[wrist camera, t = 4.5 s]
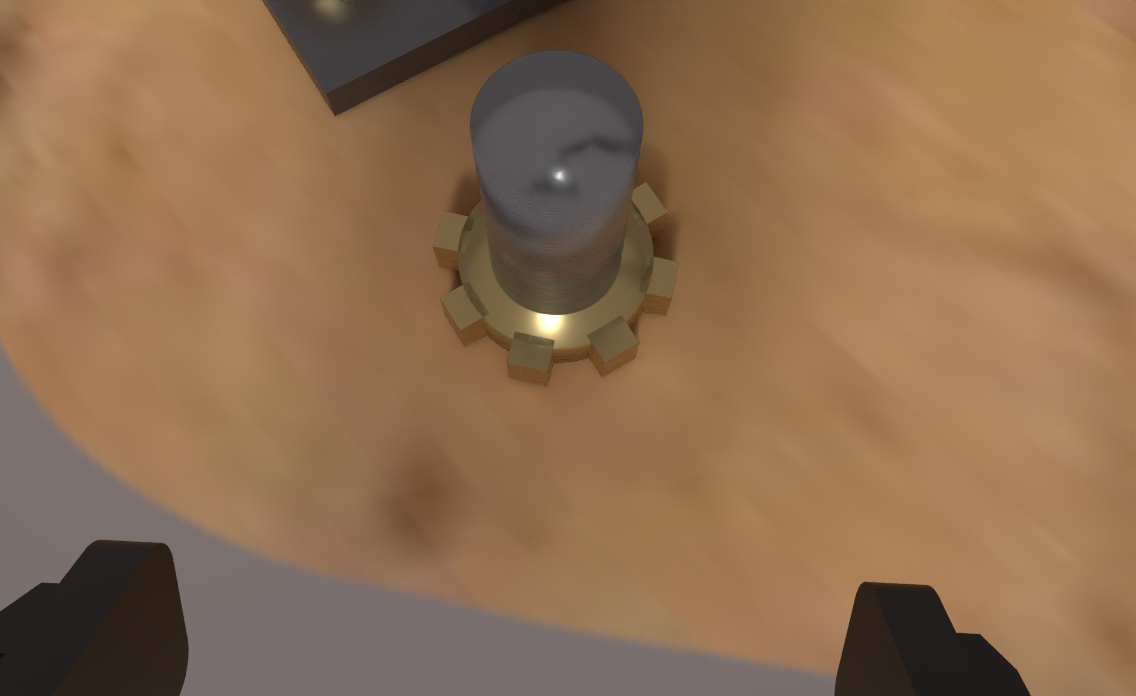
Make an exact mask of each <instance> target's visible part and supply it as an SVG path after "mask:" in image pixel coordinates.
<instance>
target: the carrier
mask: <svg viewBox="0 0 1136 696" xmlns="http://www.w3.org/2000/svg"><path fill="white" fill-rule="evenodd" d="M262 1H263V2H264V4H265V5H266V7H267V9H268V10H269V12H270V13H271V15H272V17H273V18H274V20H275V21H276V23H277V25H278V26H279V28H280V29H281V31H282V33H283V34H284V36H285V37H286V39H287V41H288V42H289V44H290V45H291V47H292V48H293V50H294V52H295V53H296V55H297V56H298V58H299V60H300V61H301V63H302V64H303V66H304V68H305V69H306V71H307V72H308V74H309V76H310V77H311V79H312V80H313V82H314V84H315V85H316V87H317V88H318V90H319V92H320V93H321V95H322V96H323V98H324V100H325V101H326V103H327V104H328V106H329V108H330V109H331V111H332V112H333V114H334V115H335V116H336V115H338V114H340V113H342V112H344V111H346V110H348V109H350V108H352V107H354V106H356V105H358V104H360V103H362V102H364V101H366V100H368V99H370V98H372V97H374V96H376V95H378V94H380V93H381V92H383V91H385V90H387V89H389V88H391V87H393V86H395V85H397V84H399V83H401V82H403V81H405V80H407V79H409V78H411V77H413V76H415V75H417V74H419V73H421V72H423V71H425V70H427V69H429V68H431V67H433V66H435V65H437V64H439V63H440V62H442V61H444V60H446V59H448V58H450V57H452V56H454V55H456V54H458V53H460V52H462V51H464V50H466V49H468V48H470V47H472V46H474V45H476V44H478V43H480V42H482V41H484V40H486V39H488V38H490V37H492V36H494V35H496V34H498V33H499V32H501V31H503V30H505V29H507V28H509V27H511V26H513V25H515V24H517V23H519V22H521V21H523V20H525V19H527V18H529V17H531V16H533V15H535V14H537V13H539V12H541V11H543V10H545V9H547V8H549V7H551V6H553V5H555V4H557V3H558V2H560V1H562V0H262Z"/></svg>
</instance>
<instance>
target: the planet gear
mask: <svg viewBox="0 0 1136 696" xmlns="http://www.w3.org/2000/svg"><path fill="white" fill-rule="evenodd" d="M470 130H471V139H472V145H473V152H474V158H475V164H476V171H477V177H478V183H479V190H480V196H481V199H480V200H479V202H478V203H477V204H476V205H475V207H474V208H473V210H472V211H471V212H470V214H469V216H464V215H459V214H455V213H450V212H446V211H444V212H443V215H442V218H441V222H440V225H439V228H438V231H437V235H436V238H435V241H434V245H433V248H434V251H435V255H436V258H437V261H438V265H439V267H444V268H448V269H453V270H457V271H459V273H460V278H461V282H462V286H460V287H458V288H456V289H455V290H453V291H451V292H449V293H447V294H446V295H444V296H442V297H440V300H441V303H442V306H443V309H444V312H445V316H446V317H447V319H448V321H449V322H450V324H451V325H452V327H453V329H454V330H455V332H456V333H457V335H458V337H459V338H460V340H461V341H462V343H463V345H464V346H465V347H466V346H468V345H469V344H471V343H473V342H475V341H476V340H478V339H480V338H481V337H483V336H485V335H488V336H489V337H490V338H491V339H492V340H493V341H495V342H496V343H497V344H498V345H500V346H501V347H503V348H505V349H506V350H508V351H510V352H509V356H508V360H507V367H508V374H509V378H512V379H517V380H521V381H526V382H530V383H535V384H539V385H543V386H548V382H549V378H550V374H551V370H552V366H553V363H563V362H572V361H577V360H581V359H585V358H588V357H589V359H590V360H591V362H592V363H593V365H594V366H595V368H596V369H597V371H598V372H599V374H600V375H601V377H602V378H603V377H605V376H606V375H608V374H610V373H611V372H613V371H615V370H616V369H618V368H620V367H621V366H623V365H625V364H626V363H628V362H630V361H631V360H633V359H635V357H636V353H637V350H638V346H639V341H638V339H637V338H636V336H635V335H634V333H633V332H632V330H631V329H630V328H631V327H632V326H633V324H634V323H635V321H636V320H637V318H638V316H639V315H640V312H641V311H644V312H648V313H653V314H657V315H662V316H666V313H667V310H668V307H669V304H670V301H671V298H672V293H673V288H674V284H675V279H676V274H677V269H678V264H679V262H677V261H672V260H667V259H663V258H658V257H654V250H653V243H652V239H654V238H655V237H657V236H659V235H661V234H662V233H663V229H664V225H665V221H666V217H667V213H668V211H667V210H666V209H665V207H664V206H663V205H662V203H661V202H660V200H659V199H658V198H657V196H656V195H655V194H654V192H653V191H652V189H651V188H650V187H649V185H648V184H647V183H646V182H645V183H644V184H642V185H640V186H638V187H637V188H635V189H633V188H634V182H635V176H636V170H637V164H638V159H639V153H640V147H641V141H642V135H643V117H642V111H641V108H640V104H639V101H638V99H637V97H636V95H635V93H634V91H633V90H632V88H631V87H630V85H629V84H628V83H627V81H626V80H625V79H624V78H623V77H622V76H621V75H620V74H619V73H618V72H617V71H616V70H614V69H613V68H612V67H610V66H609V65H607V64H606V63H604V62H602V61H600V60H598V59H596V58H594V57H591V56H589V55H586V54H582V53H578V52H573V51H566V50H547V51H539V52H534V53H530V54H527V55H524V56H521V57H519V58H517V59H514V60H512V61H510V62H509V63H507V64H505V65H504V66H502V67H501V68H500V69H498V70H497V71H496V72H495V73H494V74H493V75H492V76H491V77H490V78H489V79H488V80H487V81H486V82H485V84H484V85H483V86H482V88H481V89H480V91H479V93H478V95H477V97H476V99H475V102H474V104H473V108H472V112H471V120H470Z"/></svg>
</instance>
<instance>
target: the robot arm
mask: <svg viewBox="0 0 1136 696" xmlns="http://www.w3.org/2000/svg"><path fill="white" fill-rule="evenodd" d="M188 651H189V650H188V638H187V634H186V627H185V622H184V616H183V611H182V605H181V600H180V595H179V589H178V583H177V578H176V572H175V567H174V562H173V557H172V553H171V551H170V549H169V547H168V546H167V545H166V544H164V543H152V542H132V541H113V540H97V541H95V542H93V543H92V544H90V545H89V546H88V547H87V548H86V549H85V551H84V552H83V553H82V555H81V556H80V557H79V558H78V560H77V561H76V562H75V564H74V565H73V566H72V568H71V569H70V570H69V572H68V573H67V574H66V575H65V577H64V578H63V579H62V581H61V582H60V583H59V584H57V583H40V584H39V585H37V586H36V587H35V588H33V589H32V590H30V591H29V592H28V593H26V594H25V595H23V596H22V597H20V598H19V599H17V600H16V601H15V602H13V603H12V604H10V605H9V606H7V607H6V608H5V609H3V610H2V611H0V696H179V695H180V692H181V689H182V687H183V683H184V680H185V676H186V670H187V664H188ZM835 696H1031V695H1030V693H1029V691H1028V689H1027V688H1026V686H1025V684H1024V682H1023V680H1022V678H1021V676H1020V675H1019V673H1018V671H1017V669H1015V668H1014V667H1013V666H1012V665H1011V664H1010V663H1009V662H1008V661H1007V660H1006V659H1005V658H1004V657H1003V656H1002V655H1001V654H1000V653H999V652H998V651H997V650H996V649H995V648H994V647H993V646H992V645H991V644H990V643H988V642H987V641H986V640H985V639H984V638H983V637H982V636H981V635H980V634H968V633H956V631H955V629H954V627H953V625H952V623H951V621H950V619H949V617H948V615H947V613H946V611H945V609H944V606H943V604H942V602H941V600H940V598H939V596H938V594H937V593H936V591H935V590H934V589H933V588H932V587H931V586H928V585H915V584H896V583H877V582H863V583H862V584H861V585H860V587H859V588H858V591H857V593H856V597H855V601H854V605H853V609H852V613H851V618H850V622H849V626H848V630H847V635H846V639H845V643H844V647H843V651H842V656H841V660H840V664H839V668H838V672H837V677H836V684H835Z"/></svg>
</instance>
